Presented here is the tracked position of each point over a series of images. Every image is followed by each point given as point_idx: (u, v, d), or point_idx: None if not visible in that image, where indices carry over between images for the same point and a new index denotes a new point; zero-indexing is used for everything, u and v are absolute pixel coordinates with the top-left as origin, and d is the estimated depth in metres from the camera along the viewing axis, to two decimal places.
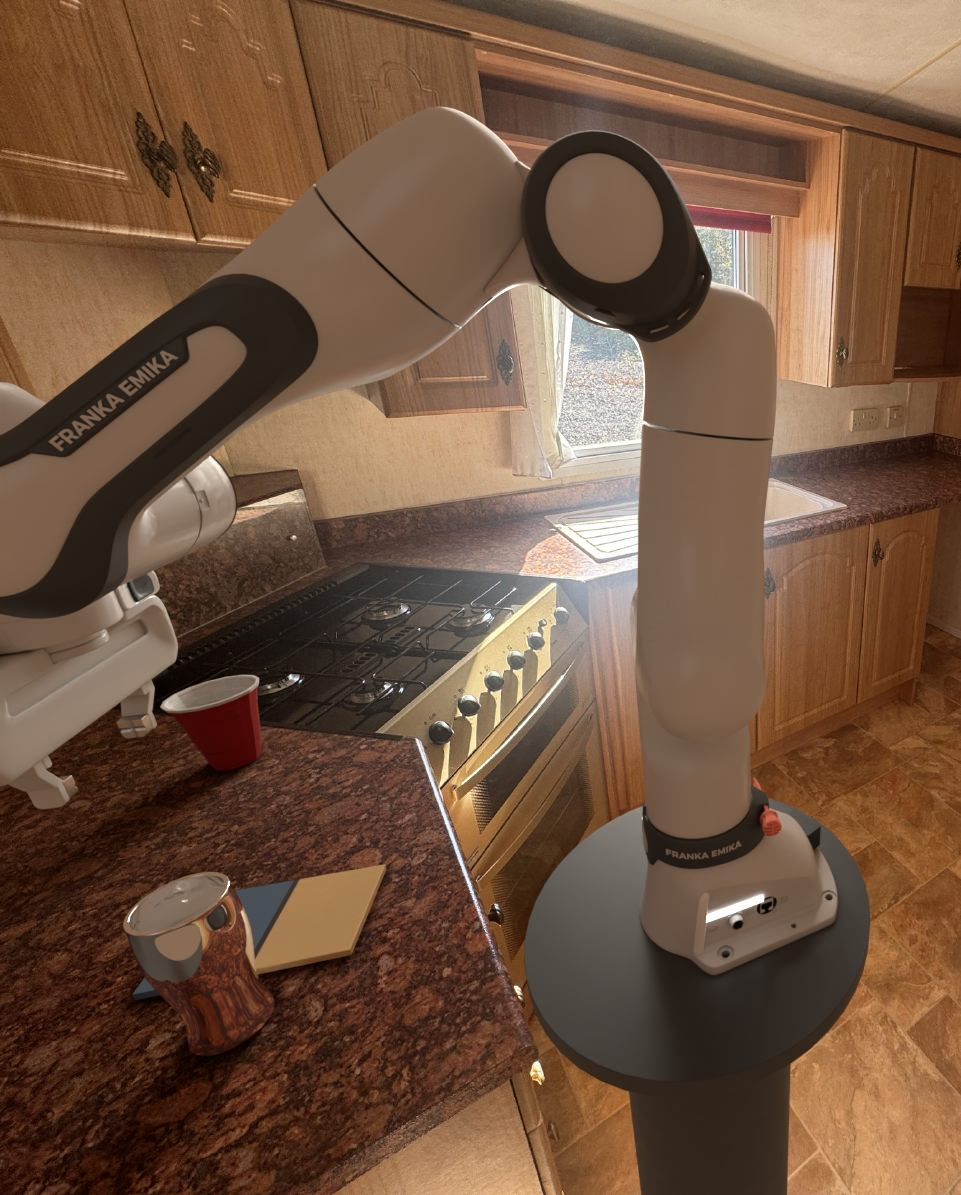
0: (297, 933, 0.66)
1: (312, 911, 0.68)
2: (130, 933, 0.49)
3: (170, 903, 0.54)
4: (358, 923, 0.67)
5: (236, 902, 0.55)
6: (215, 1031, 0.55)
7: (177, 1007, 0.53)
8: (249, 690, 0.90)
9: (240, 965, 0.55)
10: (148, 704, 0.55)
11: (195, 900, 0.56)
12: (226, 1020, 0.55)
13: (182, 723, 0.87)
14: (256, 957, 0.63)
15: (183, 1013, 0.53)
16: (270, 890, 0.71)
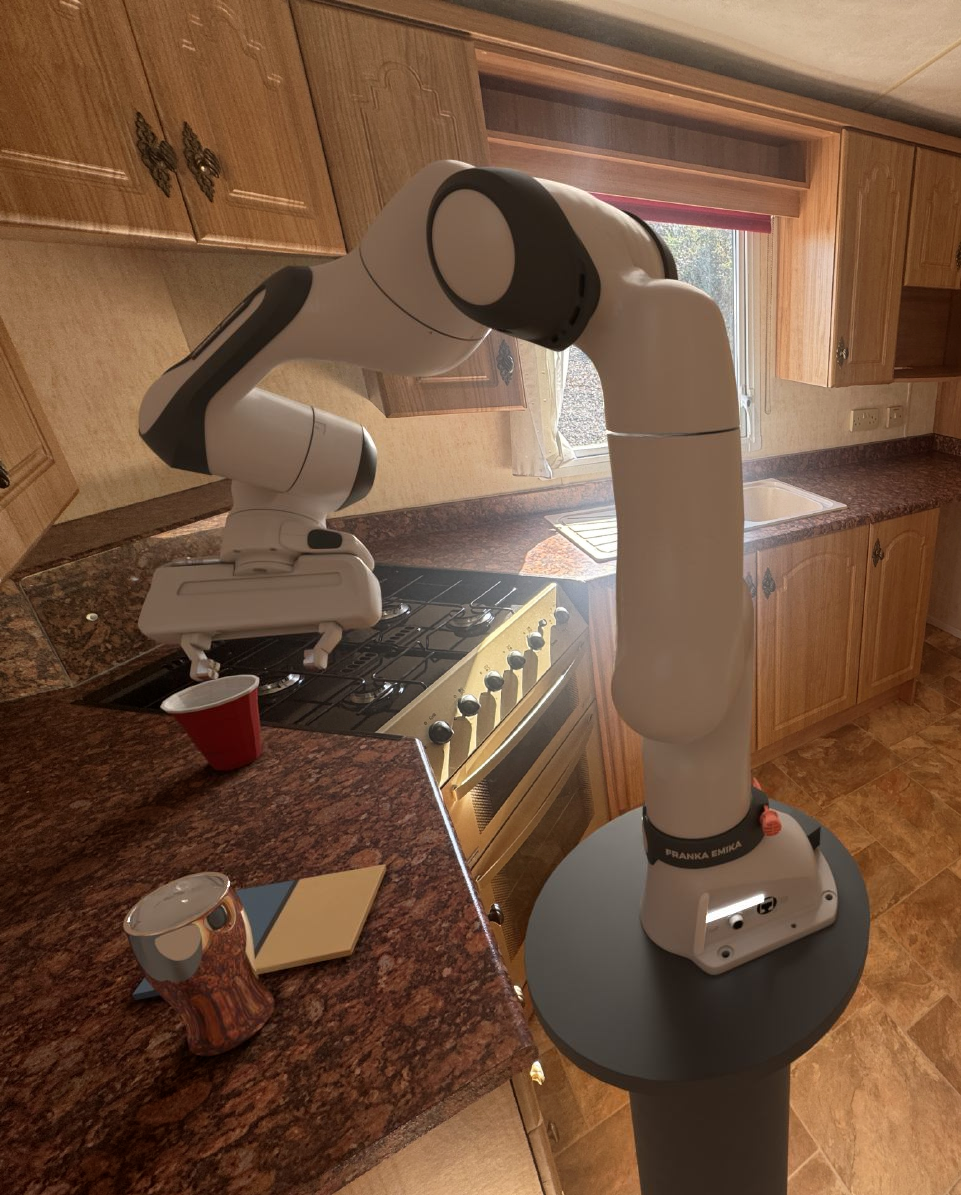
0: (297, 933, 0.66)
1: (312, 911, 0.68)
2: (130, 933, 0.49)
3: (170, 903, 0.54)
4: (358, 923, 0.67)
5: (236, 902, 0.55)
6: (215, 1031, 0.55)
7: (177, 1007, 0.53)
8: (249, 690, 0.90)
9: (240, 965, 0.55)
10: (319, 641, 0.65)
11: (195, 900, 0.56)
12: (226, 1020, 0.55)
13: (182, 723, 0.87)
14: (256, 957, 0.63)
15: (183, 1013, 0.53)
16: (270, 890, 0.71)
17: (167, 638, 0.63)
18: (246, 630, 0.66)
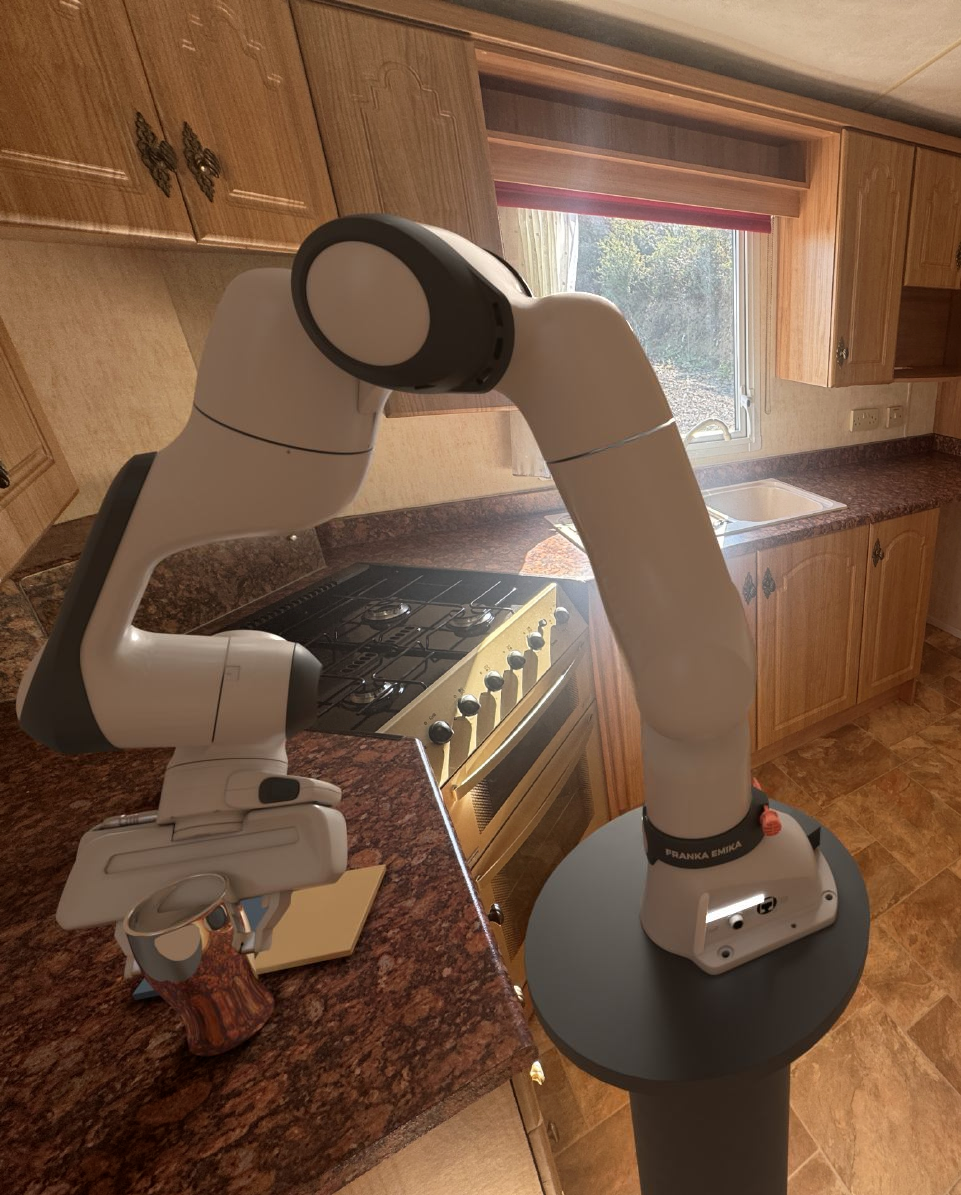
0: (297, 933, 0.66)
1: (312, 911, 0.68)
2: (129, 934, 0.49)
3: None
4: (358, 923, 0.67)
5: (236, 902, 0.54)
6: (215, 1031, 0.55)
7: (177, 1007, 0.53)
8: None
9: (240, 965, 0.55)
10: (261, 920, 0.56)
11: None
12: (226, 1020, 0.55)
13: None
14: (256, 957, 0.63)
15: (183, 1013, 0.53)
16: None
17: (92, 926, 0.53)
18: None
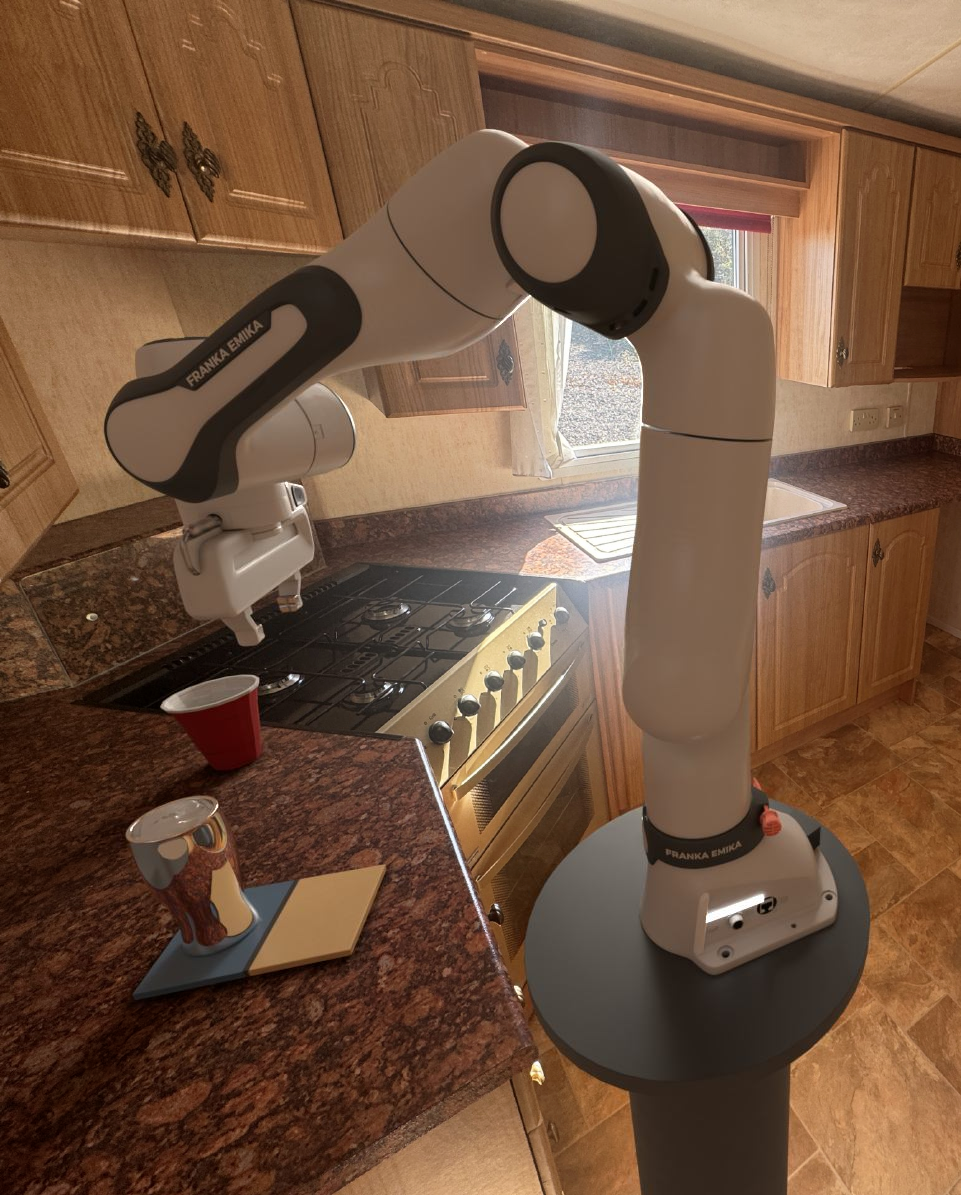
0: (297, 933, 0.66)
1: (312, 911, 0.68)
2: (131, 841, 0.57)
3: (166, 822, 0.62)
4: (358, 923, 0.67)
5: (224, 821, 0.63)
6: (206, 934, 0.63)
7: (172, 910, 0.61)
8: (249, 690, 0.90)
9: (227, 876, 0.63)
10: (297, 587, 0.74)
11: (188, 821, 0.64)
12: (216, 925, 0.63)
13: (182, 723, 0.87)
14: (256, 957, 0.63)
15: (178, 916, 0.61)
16: (270, 890, 0.71)
17: None
18: None
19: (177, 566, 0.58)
